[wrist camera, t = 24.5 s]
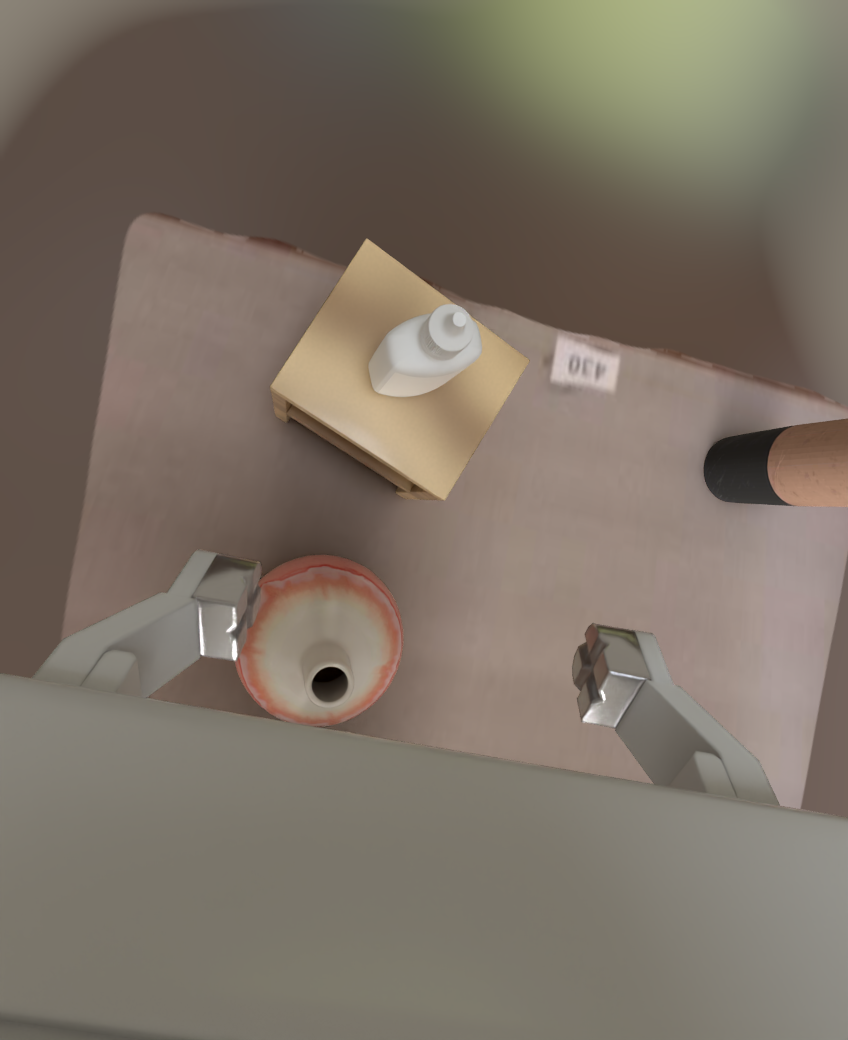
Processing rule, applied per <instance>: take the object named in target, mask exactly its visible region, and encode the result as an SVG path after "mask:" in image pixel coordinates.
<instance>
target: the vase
mask: <svg viewBox="0 0 848 1040" xmlns="http://www.w3.org/2000/svg"><path fill="white" fill-rule="evenodd" d="M258 585H259V586H260V588H261V599H260V606H259V609H258V613H257V616H256V619H255V622H254V624H253V626H252V627H251V628H249V629H247V636H246V642H245V645H244V647H243V649H242V651H241V654H240V656H239V658H238V660H237V661H235V665H236V669H237V672H238V674H239V677H240V679H241V681H242V684H243V685H244V687H245V688H246V690H247V691H248V693H249V694H250V696H251V697H252V698H253V699H254V700H255V701H256V702H257V703H258V704H259V705H260V706H261V707H262V708H263V709H265V710H266V711H267V712H268V713H270V714H271V715H273V716H275V717H277V718H279V719H281V720H283V721H286V722H291V723H297V724H303V725H309V726H314V727H322V726H329V725H335V724H338V723H341V722H345V721H347V720H349V719H352V718H354V717H356V716H358V715H359V714H361V713H362V712H364V711H365V710H367V709H368V708H369V707H371V706H372V705H373V704H374V703H375V702H376V701H377V700H378V699H379V698H380V697H381V696H382V695H383V694H384V692H385V691H386V690H387V688H388V687H389V685H390V684H391V682H392V680H393V679H394V676H395V674H396V672H397V669H398V667H399V663H400V659H401V656H402V650H403V641H404V639H403V625H402V620H401V615H400V612H399V609H398V606H397V604H396V601H395V600H394V598H393V596H392V594H391V593H390V591H389V589H388V588H387V587H386V586H385V584H384V583H383V582H382V581H381V579H379V578H378V577H377V576H376V575H375V574H374V573H373V572H372V571H370V570H369V569H367V568H365V567H364V566H362V565H361V564H359V563H356V562H354V561H352V560H349V559H346V558H342V557H338V556H333V555H309V556H304V557H300V558H296V559H293V560H291V561H288V562H285V563H283V564H281V565H280V566H278V567H276V568H274V569H273V570H271V571H270V572H269V573H267V574H266V575H265V576H264V577H263V578H261V579H260V580H259V582H258Z"/></svg>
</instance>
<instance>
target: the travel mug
mask: <svg viewBox="0 0 848 1040" xmlns="http://www.w3.org/2000/svg"><path fill="white" fill-rule="evenodd" d="M704 476H705V480H706V483H707V486H708V488H709V489H710V491H711V492H712V493H713V494H714V495H715V496H716V497H717V498H719V499H721V500H723V501H727V502H735V503H751V504H768V505H786V506H828V507H848V419H841V420H833V421H825V422H818V423H810V424H802V425H795V426H789V427H783V428H777V429H772V430H766V431H760V432H755V433H749V434H743V435H738V436H732V437H728V438H725V439H722V440H720V441H719V442H717V443H716V444H715V445H714V446H713V447H712V448H711V449H710V451H709V453H708V454H707V457H706V460H705V465H704Z"/></svg>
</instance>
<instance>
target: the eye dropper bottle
mask: <svg viewBox="0 0 848 1040" xmlns="http://www.w3.org/2000/svg"><path fill="white" fill-rule="evenodd" d="M481 353H482V342H481V336H480V331H479V328H478V325H477V324H476V322H474V321H473V320H472V319H471V317H470V316H469V314H468V313H467V312H466V311H465V310H464V309H463V308H461V307H460V306H458V305H454V304H453V305H452V304H448V305H447V304H446V305H441V306H439V307H438V308H436V309H435V310H434V311H433V312H432V313H430V314H424V315H420V316H417V317H414V318H412V319H409V320H407V321H405V322H403V323H401V324H400V325H398V326H396V327H395V328H393V329H392V330H391V331H390V332H389V333H387V335H386V336H385V338H384V339H383V340H382V342H381V343H380V345H379V347H378V348H377V350H376V351H375V353H374V355H373V356H372V358H371V360H370V361H369V365H368V368H369V374H370V379H371V383H372V387H373V389H374V391H376V392H377V393H379V394H382V395H387V396H393V397H411V396H417V395H421V394H425V393H428V392H430V391H432V390H435V389H437V388H438V387H440V386H442V385H443V384H445V383H446V382H448V381H449V380H450V379H452V378H453V377H455V376H456V375H457V374H459V373H460V372H461V371H463V370H464V369H466V368H467V367H468V366H470V365H471V364H472V363H473V362H475V361H476V360H477V359H478V358H479V356H480V355H481Z"/></svg>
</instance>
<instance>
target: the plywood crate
mask: <svg viewBox="0 0 848 1040" xmlns="http://www.w3.org/2000/svg"><path fill="white" fill-rule="evenodd" d="M446 304H447V305H448V304H452V305H453V304H454V303H453V302H451V301H450V300H449V299H447V298H446V297H445V296H443V295H442V294H441V293H439V292H438V291H437V290H435V289H434V288H433V287H431V286H430V285H429V284H427V283H426V282H424V281H423V280H422V279H420V278H419V277H418V276H416V275H415V274H414V273H412V272H411V271H410V270H408V269H407V268H406V267H404V266H403V265H402V264H400V263H399V262H398V261H396V260H395V259H394V258H392V257H391V256H390V255H388V254H387V253H386V252H384V251H383V250H382V249H380V248H379V247H378V246H376V245H375V244H374V243H372V242H371V241H370V240H368V239H366V240H365V241H364V243H363V244H362V246H361V247H360V249H359V251H358V252H357V254H356V255H355V257H354V258H353V260H352V261H351V263H350V264H349V266H348V267H347V269H346V270H345V272H344V274H343V275H342V277H341V278H340V280H339V281H338V283H337V284H336V286H335V287H334V289H333V290H332V292H331V293H330V295H329V297H328V298H327V300H326V301H325V303H324V304H323V306H322V307H321V309H320V310H319V312H318V313H317V315H316V316H315V318H314V320H313V321H312V323H311V324H310V326H309V327H308V329H307V330H306V332H305V333H304V335H303V336H302V338H301V339H300V341H299V343H298V344H297V346H296V347H295V349H294V350H293V352H292V353H291V355H290V356H289V358H288V359H287V361H286V362H285V364H284V366H283V367H282V369H281V370H280V372H279V373H278V375H277V376H276V378H275V379H274V381H273V382H272V384H271V385H270V389H271V394H272V400H273V405H274V411H275V416H276V417H278V418H279V419H281V420H282V421H284V422H286V423H287V422H288V421H289V419H290V418H293V419H294V420H296V421H298V422H299V423H301V424H302V425H304V426H305V427H307V428H308V429H310V430H311V431H313V432H315V433H316V434H318V435H319V436H321V437H322V438H324V439H325V440H327V441H329V442H330V443H332V444H333V445H335V446H336V447H338V448H339V449H341V450H343V451H344V452H346V453H347V454H349V455H350V456H352V457H353V458H355V459H357V460H358V461H360V462H361V463H363V464H364V465H366V466H367V467H369V468H370V469H372V470H374V471H375V472H377V473H378V474H380V475H381V476H383V477H384V478H386V479H388V480H389V481H391V482H392V483H394V484H395V485H397V486H398V489H397V490H396V492H395V493H396V494H398V495H400V496H401V497H403V498H404V499H420V500H445V499H446V498H447V496H448V494H449V493H450V491H451V490H452V488H453V486H454V485H455V483H456V481H457V480H458V478H459V476H460V475H461V473H462V471H463V470H464V468H465V466H466V465H467V463H468V462H469V460H470V458H471V457H472V455H473V453H474V452H475V450H476V448H477V447H478V445H479V443H480V442H481V440H482V439H483V437H484V435H485V434H486V432H487V430H488V429H489V427H490V425H491V424H492V422H493V420H494V419H495V417H496V415H497V414H498V412H499V411H500V409H501V407H502V406H503V404H504V402H505V401H506V399H507V397H508V396H509V394H510V392H511V391H512V389H513V387H514V386H515V384H516V383H517V381H518V379H519V378H520V376H521V374H522V373H523V371H524V369H525V368H526V366H527V364H528V363H529V361H530V360H529V359H527V358H526V357H525V356H523V355H522V354H521V353H519V352H518V351H517V350H515V349H514V348H513V347H511V346H510V345H509V344H507V343H506V342H505V341H503V340H502V339H501V338H499V337H498V336H497V335H495V334H494V333H493V332H491V331H490V330H489V329H487V328H486V327H485V326H483V325H482V324H481V323H479V322H478V321H477V320H475V319H474V318H473V317H471V316H470V315H469V316H470V317H471V319H472V320H473V321H474V322H476V324H477V325H478V328H479V331H480V336H481V342H482V353H481V355H480V356H479V358H478V359H477V360H476V361H475V362H473V363H472V364H471V365H470V366H468V367H467V368H466V369H464V370H463V371H461V372H460V373H459V374H457V375H456V376H455V377H453V378H452V379H450V380H449V381H448V382H446V383H445V384H443V385H442V386H440V387H438V388H437V389H435V390H432V391H430V392H428V393H425V394H421V395H417V396H411V397H393V396H387V395H382V394H379V393H377V392H376V391H374V389H373V387H372V383H371V379H370V374H369V368H368V365H369V361H370V360H371V358H372V356H373V355H374V353H375V351H376V350H377V348H378V347H379V345H380V343H381V342H382V340H383V339H384V338H385V336H386V335H387V333H389V332H390V331H391V330H392V329H393V328H395V327H396V326H398V325H400V324H401V323H403V322H405V321H407V320H409V319H412V318H414V317H417V316H420V315H424V314H430V313H432V312H433V311H434V310H435V309H436V308H438V307H439V306H441V305H446ZM454 305H455V304H454Z"/></svg>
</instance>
